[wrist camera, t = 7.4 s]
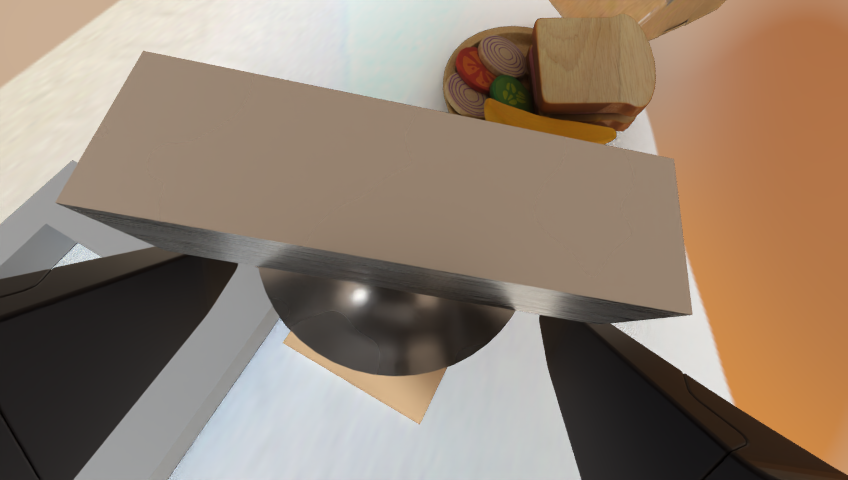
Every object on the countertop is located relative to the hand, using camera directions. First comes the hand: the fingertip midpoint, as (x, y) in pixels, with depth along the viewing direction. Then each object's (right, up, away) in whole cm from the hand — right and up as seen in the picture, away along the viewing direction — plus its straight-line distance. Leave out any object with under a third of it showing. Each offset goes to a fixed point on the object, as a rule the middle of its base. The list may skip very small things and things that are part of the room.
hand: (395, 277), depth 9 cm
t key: (-1, -3, +8) cm, 9 cm away
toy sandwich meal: (+9, +11, +15) cm, 21 cm away
